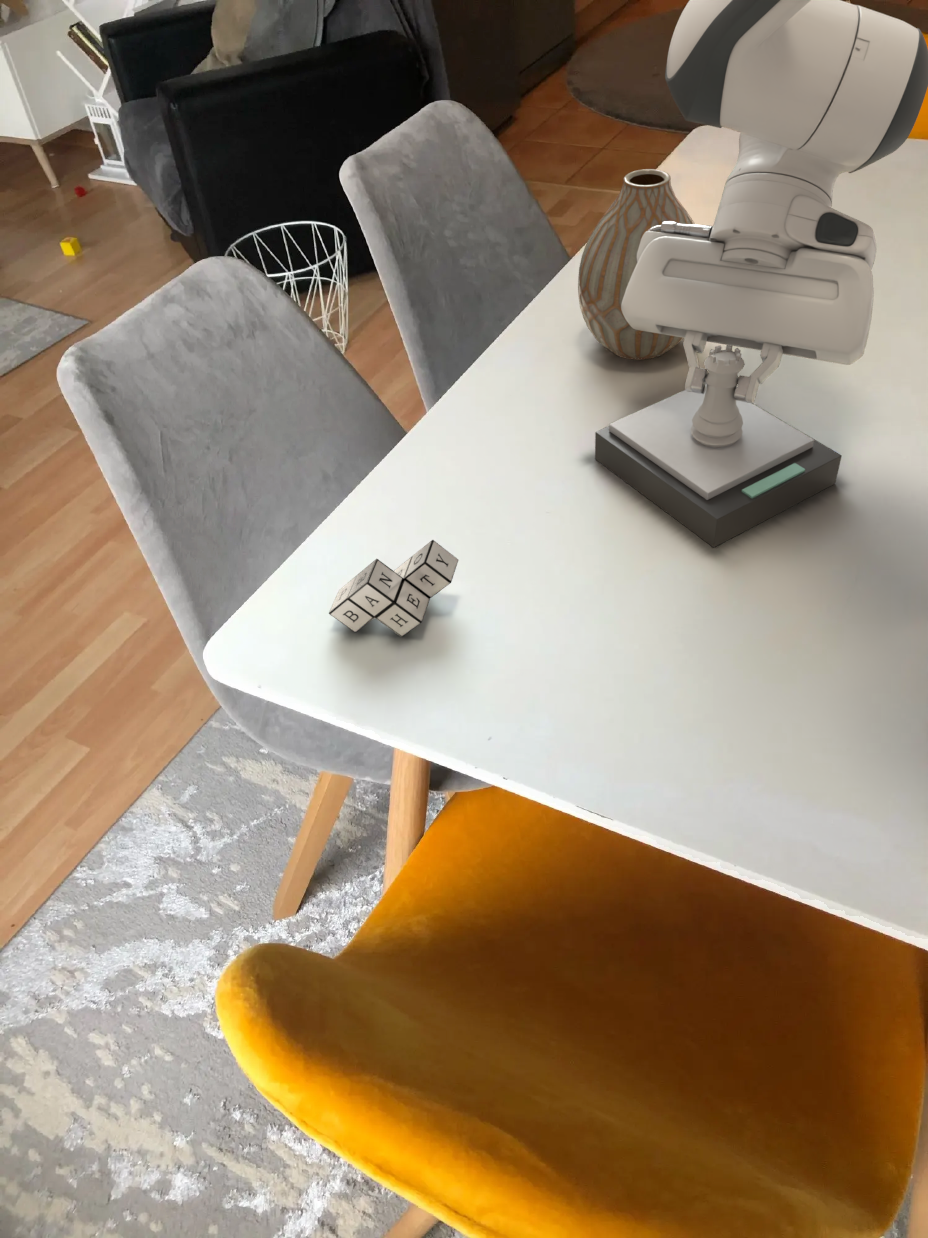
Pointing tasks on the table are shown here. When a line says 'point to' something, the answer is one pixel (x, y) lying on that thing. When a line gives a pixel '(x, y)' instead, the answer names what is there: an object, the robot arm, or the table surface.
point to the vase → (625, 262)
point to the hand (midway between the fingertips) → (718, 395)
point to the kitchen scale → (715, 466)
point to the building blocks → (395, 591)
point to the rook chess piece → (719, 401)
